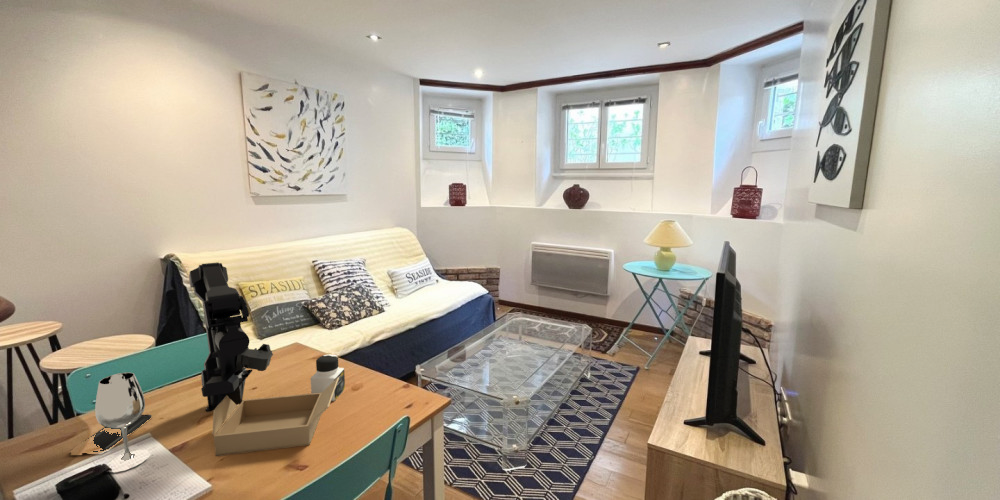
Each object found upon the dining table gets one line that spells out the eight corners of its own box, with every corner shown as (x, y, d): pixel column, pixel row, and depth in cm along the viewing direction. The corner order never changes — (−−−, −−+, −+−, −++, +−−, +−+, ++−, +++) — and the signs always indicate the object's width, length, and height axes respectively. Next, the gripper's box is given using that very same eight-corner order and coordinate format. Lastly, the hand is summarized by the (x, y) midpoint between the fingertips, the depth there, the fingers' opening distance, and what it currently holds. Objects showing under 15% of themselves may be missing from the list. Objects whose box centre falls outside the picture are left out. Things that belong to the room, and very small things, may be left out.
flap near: (214, 434, 89) (212, 434, 89) (241, 400, 103) (239, 400, 103) (215, 410, 88) (213, 410, 88) (242, 378, 103) (241, 378, 103)
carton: (215, 456, 89) (213, 436, 89) (243, 417, 105) (242, 399, 104) (309, 444, 94) (308, 425, 93) (323, 408, 109) (322, 392, 109)
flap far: (322, 392, 108) (323, 393, 108) (309, 424, 94) (310, 425, 94) (338, 377, 109) (339, 377, 109) (327, 406, 94) (328, 407, 94)
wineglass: (110, 479, 82) (97, 390, 79) (98, 465, 86) (86, 380, 83) (157, 458, 88) (146, 375, 85) (144, 445, 92) (134, 366, 89)
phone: (153, 414, 104) (104, 450, 89) (154, 418, 104) (105, 455, 89) (120, 415, 103) (65, 453, 88) (121, 419, 103) (66, 457, 88)
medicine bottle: (335, 401, 113) (333, 362, 112) (311, 400, 114) (309, 361, 112) (345, 389, 120) (343, 352, 119) (322, 388, 121) (320, 351, 119)
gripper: (252, 354, 87) (262, 417, 89) (276, 326, 105) (285, 380, 107) (194, 362, 84) (207, 427, 87) (230, 332, 102) (239, 387, 105)
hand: (239, 403), depth 96 cm, fingers closed, pressing on flap near
